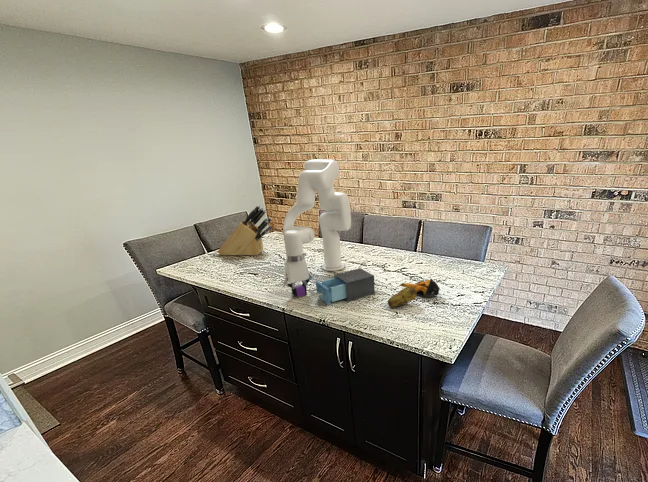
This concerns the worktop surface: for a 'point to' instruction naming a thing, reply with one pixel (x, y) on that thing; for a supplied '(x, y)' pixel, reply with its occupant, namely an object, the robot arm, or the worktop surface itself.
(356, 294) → the grey drawer box
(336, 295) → the blue drawer
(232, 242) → the knife block
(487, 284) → the worktop surface
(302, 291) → the purple cube
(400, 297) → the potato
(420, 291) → the fried shrimp in bowl
